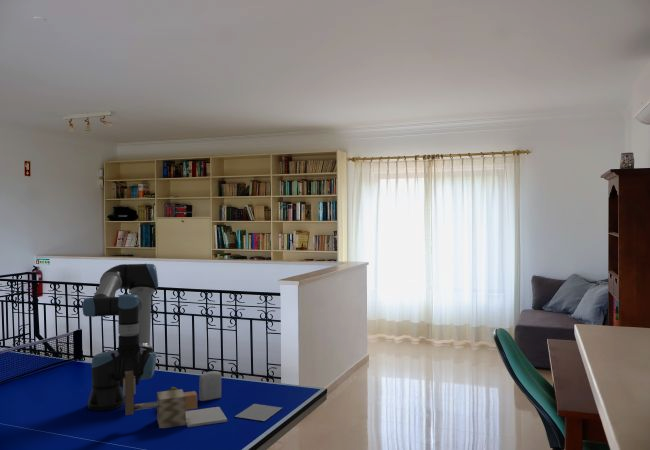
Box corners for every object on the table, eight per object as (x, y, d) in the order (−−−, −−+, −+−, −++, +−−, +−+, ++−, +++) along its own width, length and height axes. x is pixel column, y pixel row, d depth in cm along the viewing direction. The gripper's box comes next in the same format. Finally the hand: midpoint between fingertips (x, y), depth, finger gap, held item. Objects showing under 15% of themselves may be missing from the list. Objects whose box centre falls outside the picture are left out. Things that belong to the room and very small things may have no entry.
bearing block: (159, 428, 214) (159, 399, 214) (157, 419, 223) (156, 392, 223) (185, 424, 218) (185, 396, 218) (182, 416, 227) (182, 389, 227)
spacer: (184, 409, 220) (184, 396, 220) (183, 405, 225) (182, 392, 225) (197, 408, 222) (197, 394, 222) (195, 404, 227) (195, 391, 227)
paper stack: (214, 415, 229) (214, 413, 229) (244, 397, 252) (244, 395, 252) (264, 422, 221) (264, 421, 221) (290, 403, 244) (290, 401, 244)
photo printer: (219, 395, 254) (219, 368, 254) (222, 398, 250) (222, 371, 250) (197, 399, 248) (197, 372, 248) (201, 402, 245) (201, 374, 245)
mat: (187, 427, 215) (187, 424, 215) (182, 414, 230) (182, 411, 230) (227, 421, 221) (227, 419, 221) (219, 408, 236) (219, 406, 236)
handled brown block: (125, 415, 212) (125, 374, 212) (125, 411, 216) (124, 371, 216) (193, 406, 222) (193, 367, 222) (192, 403, 226) (191, 364, 225)
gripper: (106, 338, 207) (107, 399, 208) (151, 334, 214) (151, 394, 214) (106, 334, 214) (106, 393, 215) (149, 330, 221) (149, 388, 221)
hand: (129, 393), depth 214 cm, fingers closed on handled brown block, 3 cm apart
